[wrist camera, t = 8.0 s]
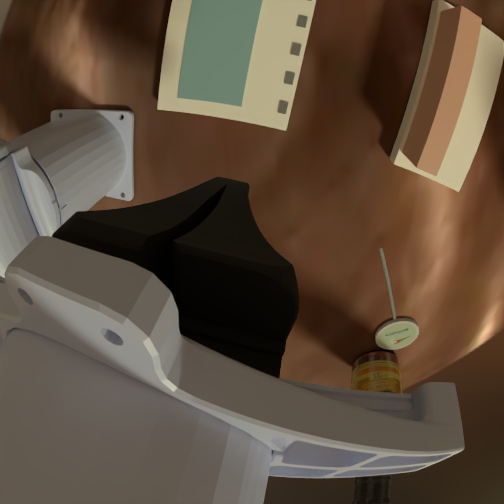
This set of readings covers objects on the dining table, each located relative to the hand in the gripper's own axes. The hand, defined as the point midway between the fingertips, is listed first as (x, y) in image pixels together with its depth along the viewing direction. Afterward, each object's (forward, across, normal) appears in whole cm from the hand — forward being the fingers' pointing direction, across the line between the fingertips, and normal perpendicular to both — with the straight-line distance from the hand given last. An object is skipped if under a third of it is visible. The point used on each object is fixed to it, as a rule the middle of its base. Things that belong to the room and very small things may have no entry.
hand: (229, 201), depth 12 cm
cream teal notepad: (+9, +3, -8) cm, 13 cm away
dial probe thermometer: (+10, -16, +12) cm, 22 cm away
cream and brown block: (+9, -12, -8) cm, 17 cm away
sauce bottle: (+10, -19, +22) cm, 31 cm away
